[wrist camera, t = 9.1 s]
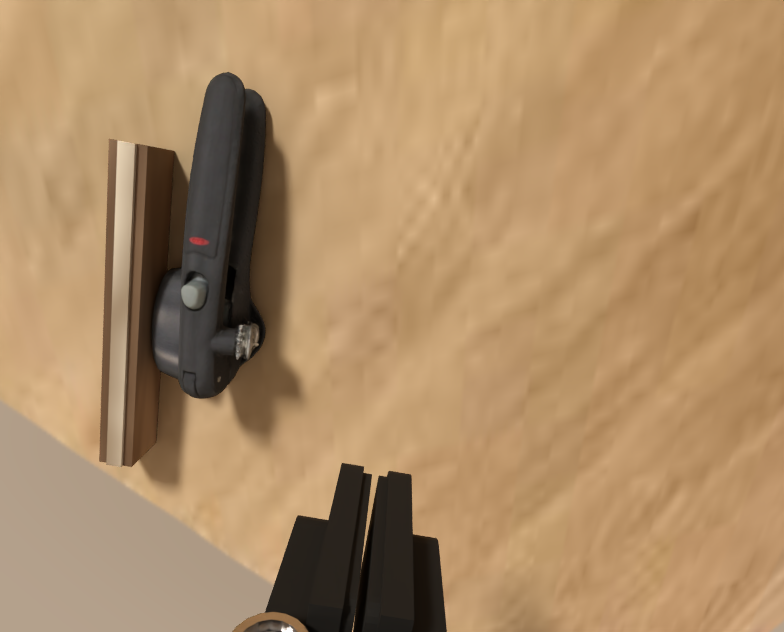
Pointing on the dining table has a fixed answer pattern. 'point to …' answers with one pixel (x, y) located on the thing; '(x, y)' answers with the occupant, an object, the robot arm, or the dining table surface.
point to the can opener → (215, 248)
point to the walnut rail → (133, 297)
